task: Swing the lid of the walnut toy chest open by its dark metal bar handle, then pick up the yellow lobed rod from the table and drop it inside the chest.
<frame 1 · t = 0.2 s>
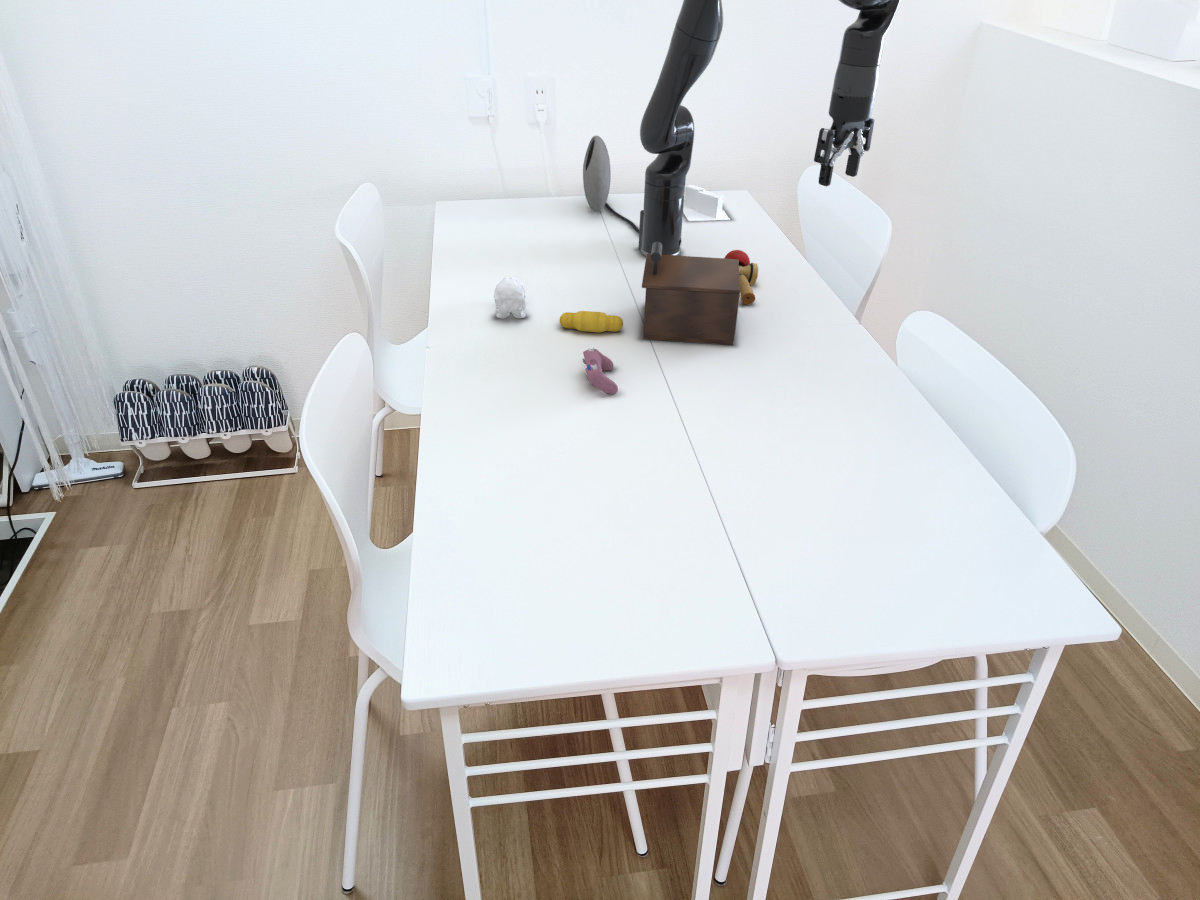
hand: (837, 180, 163), 29 cm above the table, tool pointing down, fingers open, 8 cm apart
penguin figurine: (511, 311, 181), on the table
kendama: (740, 288, 192), on the table
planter: (595, 210, 229), on the table
yellow lobed rod: (590, 330, 174), on the table
lid: (692, 262, 169), point 14 cm above the table, hinge at 0.0°
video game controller: (599, 383, 158), on the table
napkin holder: (702, 210, 231), on the table
toy chest: (688, 325, 177), on the table
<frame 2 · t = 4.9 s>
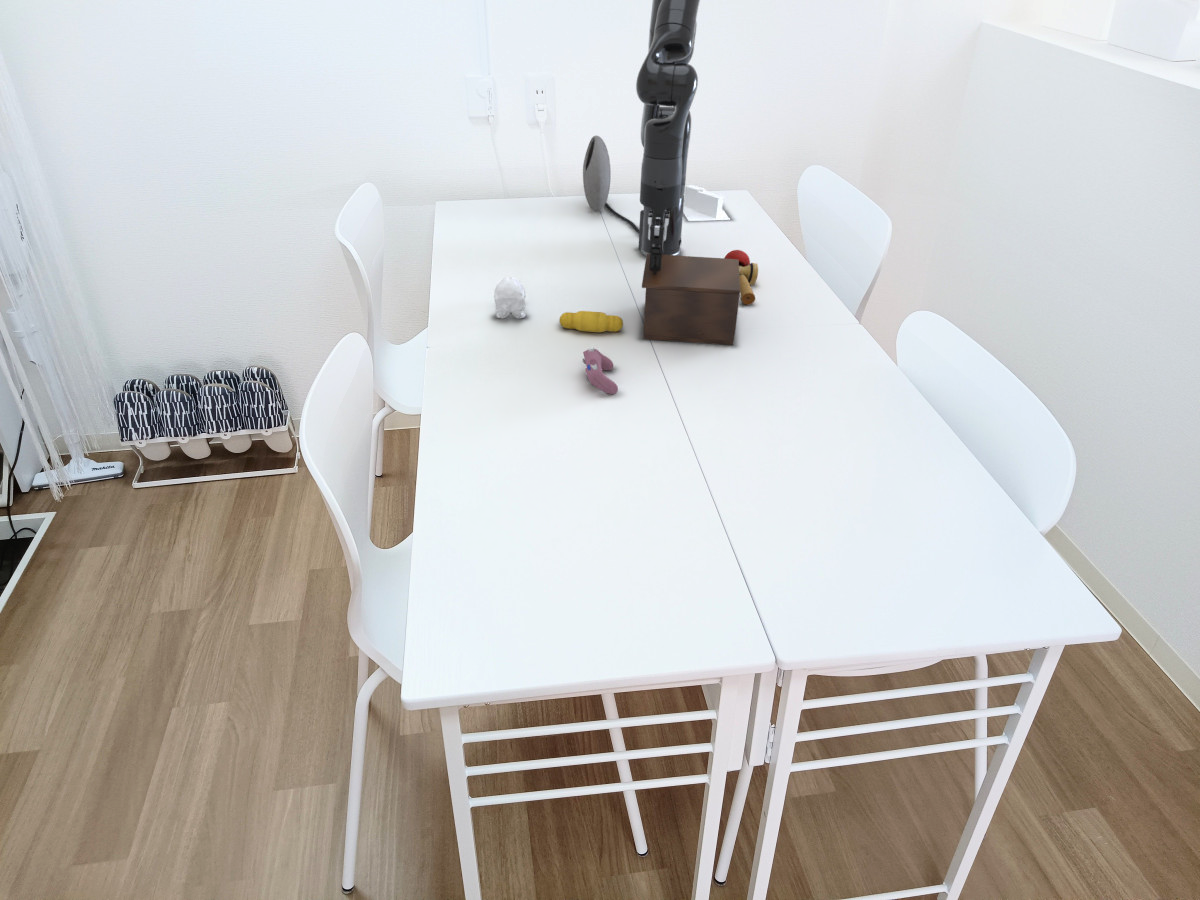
hand: (655, 263, 170), 13 cm above the table, tool pointing down, fingers closed on lid, 5 cm apart
lid: (692, 262, 169), point 14 cm above the table, hinge at 0.0°, touching gripper
everything else where it was.
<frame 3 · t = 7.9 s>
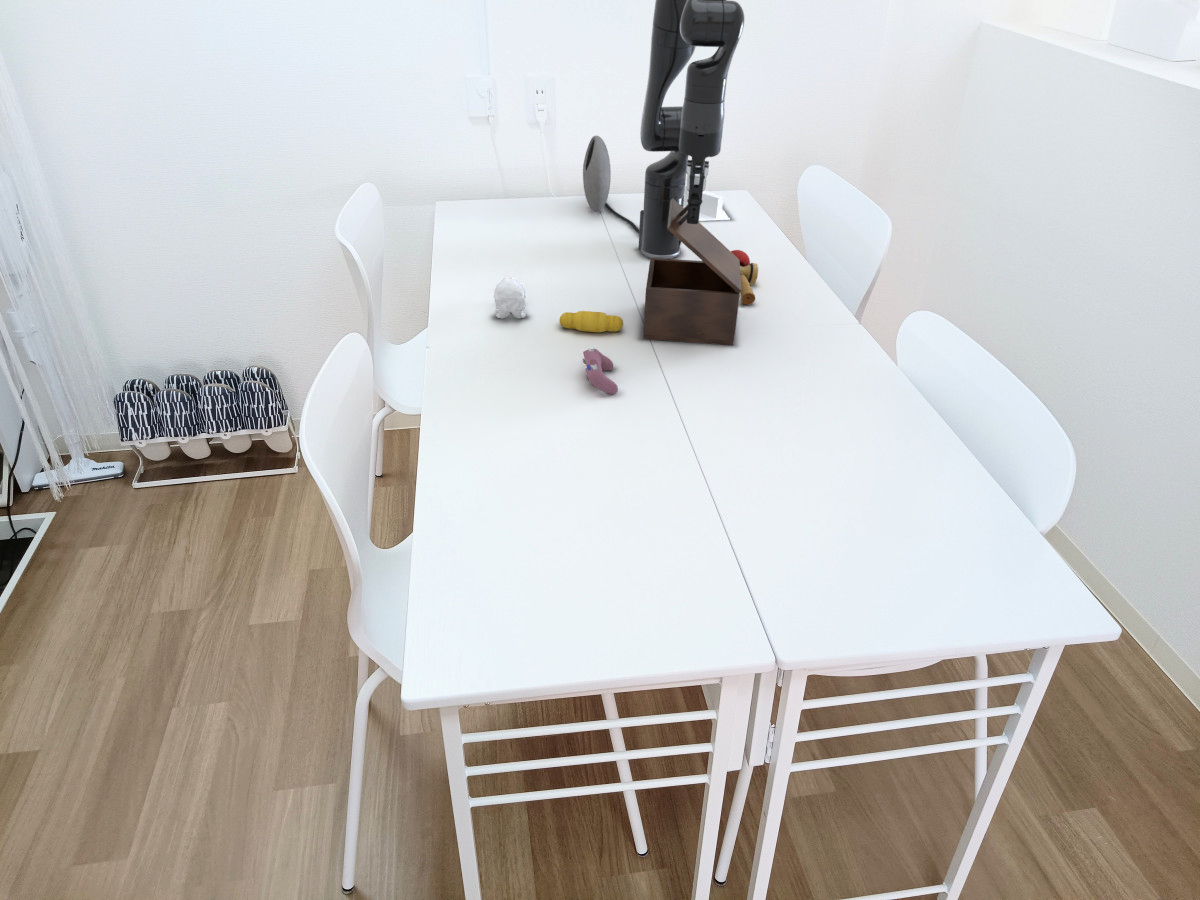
hand: (692, 216, 164), 23 cm above the table, tool pointing down, fingers closed on lid, 5 cm apart
lid: (713, 236, 166), point 19 cm above the table, hinge at 39.8°, touching gripper
everything else where it was.
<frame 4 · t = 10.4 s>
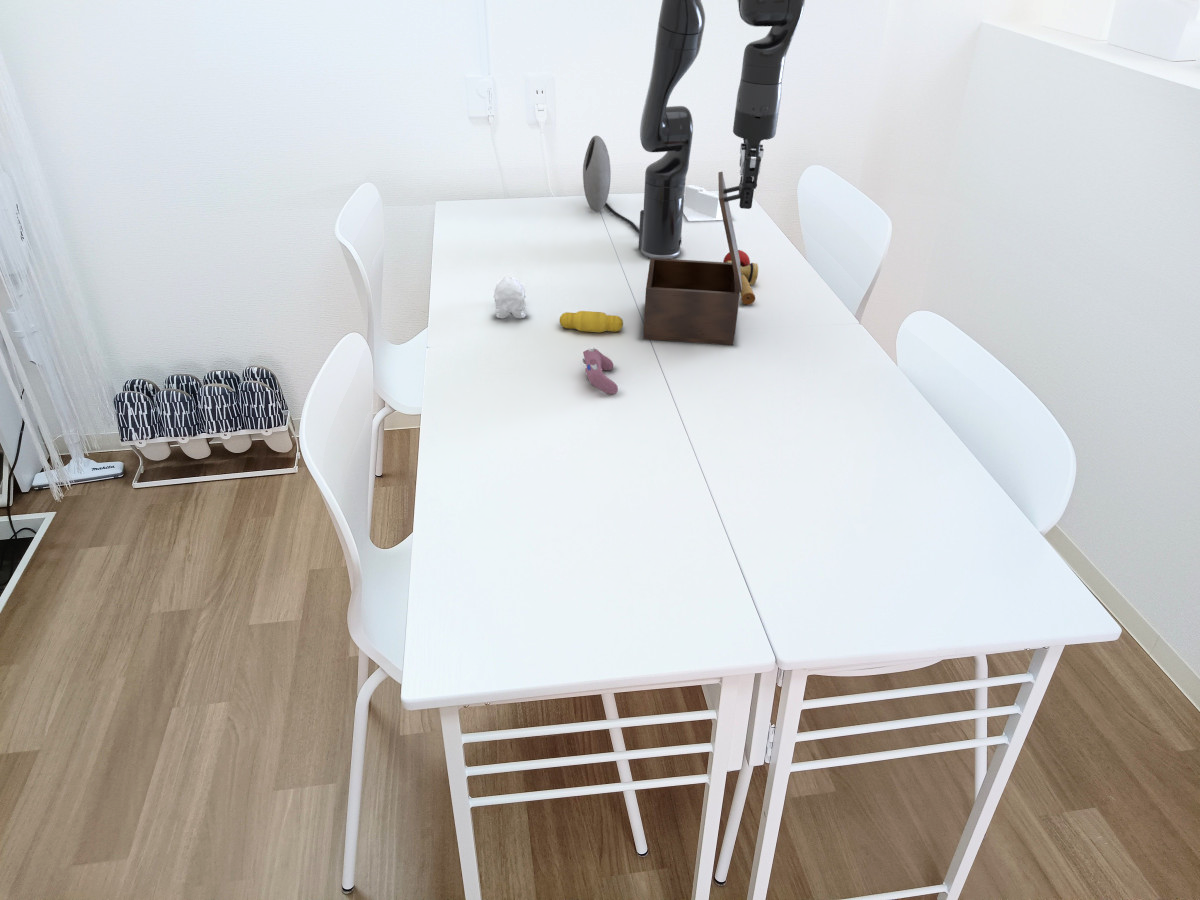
hand: (744, 201, 161), 26 cm above the table, tool pointing down, fingers closed on lid, 5 cm apart
lid: (742, 229, 164), point 21 cm above the table, hinge at 73.1°, touching gripper
everything else where it was.
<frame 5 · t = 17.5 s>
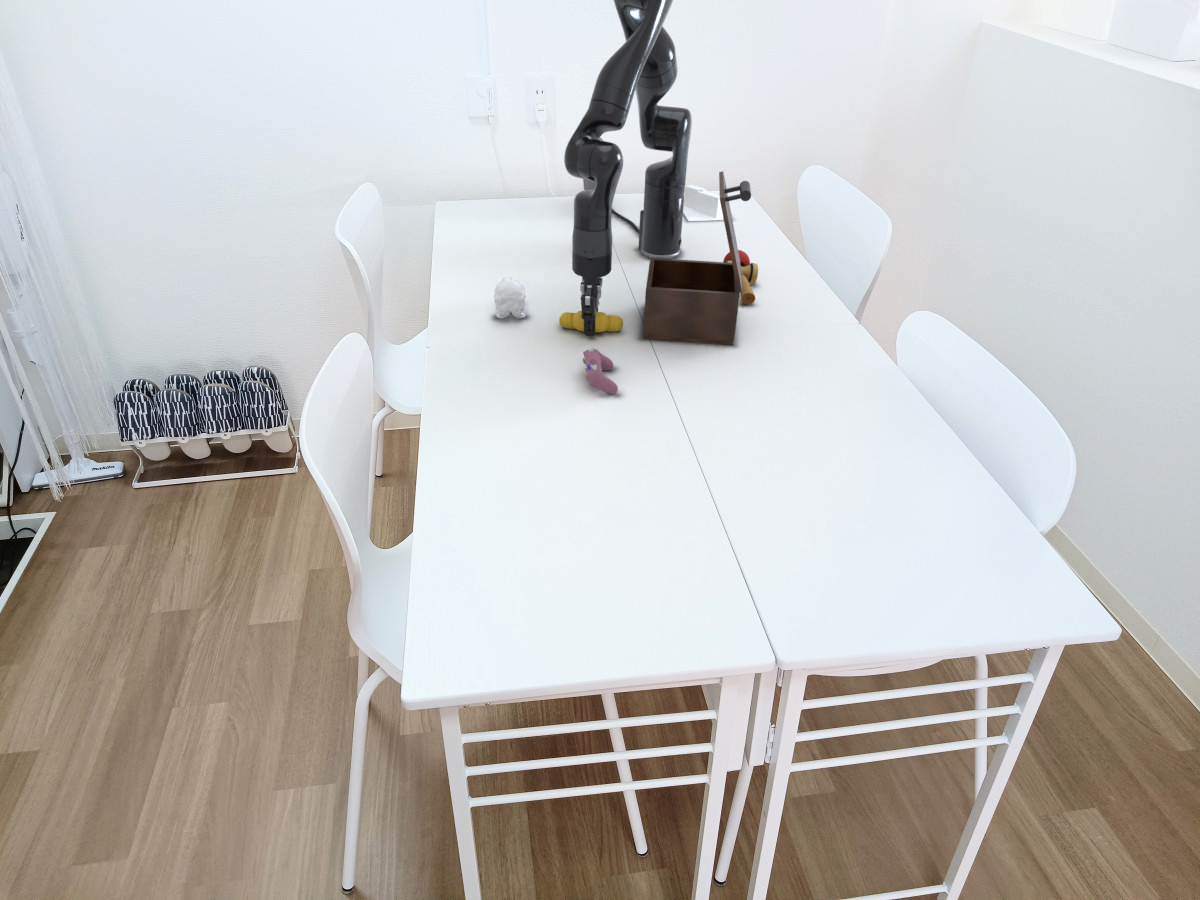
hand: (590, 328, 174), 0 cm above the table, tool pointing down, fingers closed on yellow lobed rod, 4 cm apart
yellow lobed rod: (590, 330, 174), on the table, touching gripper
lid: (742, 229, 164), point 21 cm above the table, hinge at 73.6°
everything else where it was.
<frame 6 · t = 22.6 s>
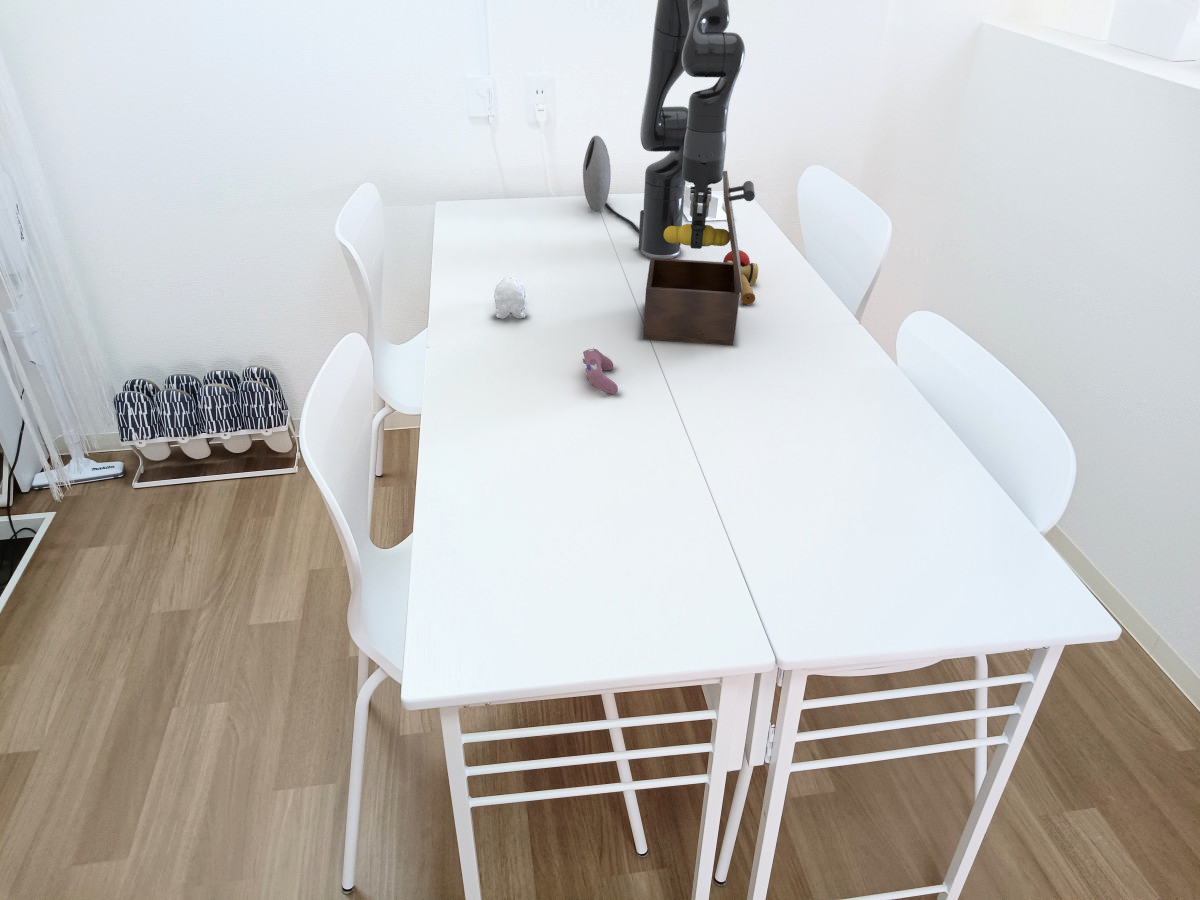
hand: (696, 242, 167), 18 cm above the table, tool pointing down, fingers closed on yellow lobed rod, 4 cm apart
yellow lobed rod: (696, 245, 167), point 17 cm above the table, touching gripper
lid: (744, 229, 164), point 21 cm above the table, hinge at 75.8°
everything else where it was.
when the fingers open (9 cm above the table, at t = 25.1 s): yellow lobed rod drops 8 cm, resting on toy chest.
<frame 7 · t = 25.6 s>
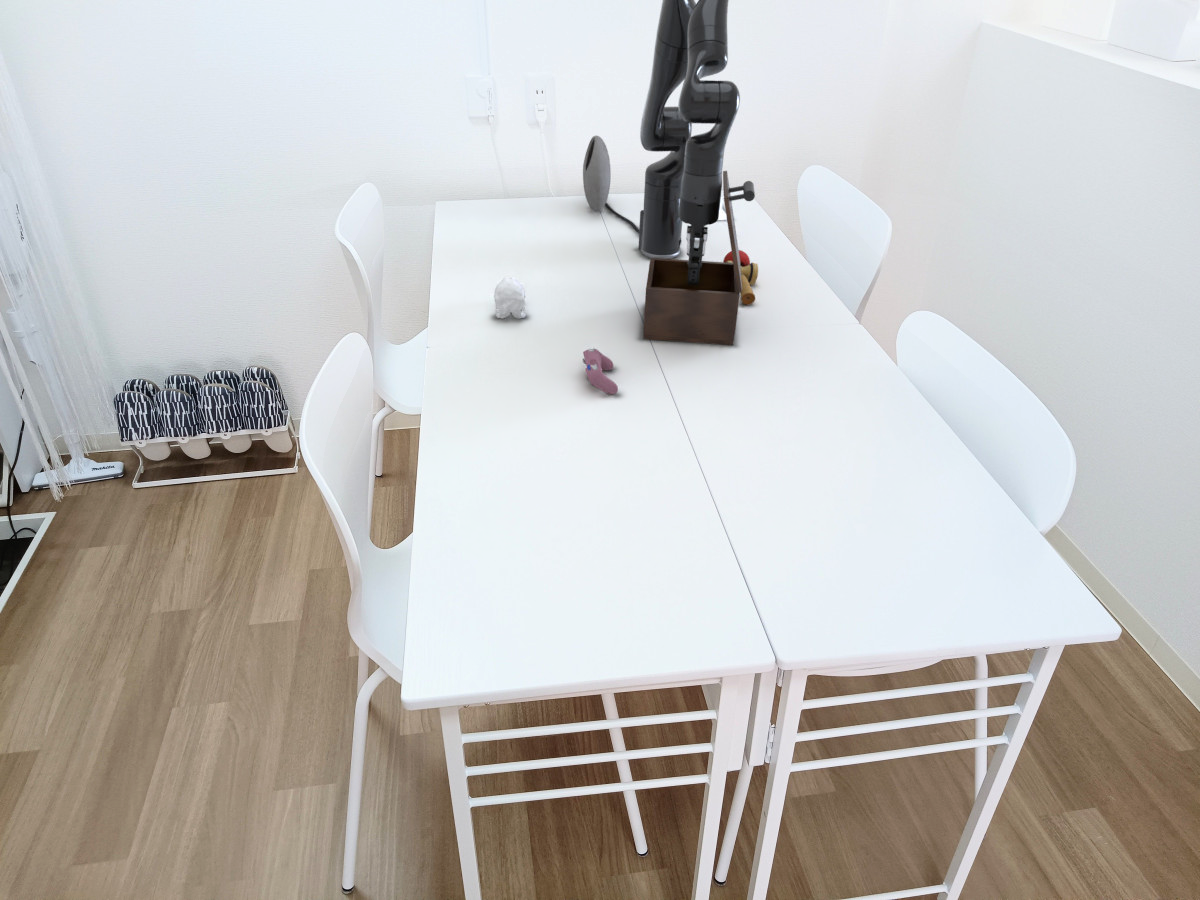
hand: (693, 275, 171), 11 cm above the table, tool pointing down, fingers open, 8 cm apart
yellow lobed rod: (689, 321, 176), point 1 cm above the table, tilted 16°, touching toy chest
everything else where it was.
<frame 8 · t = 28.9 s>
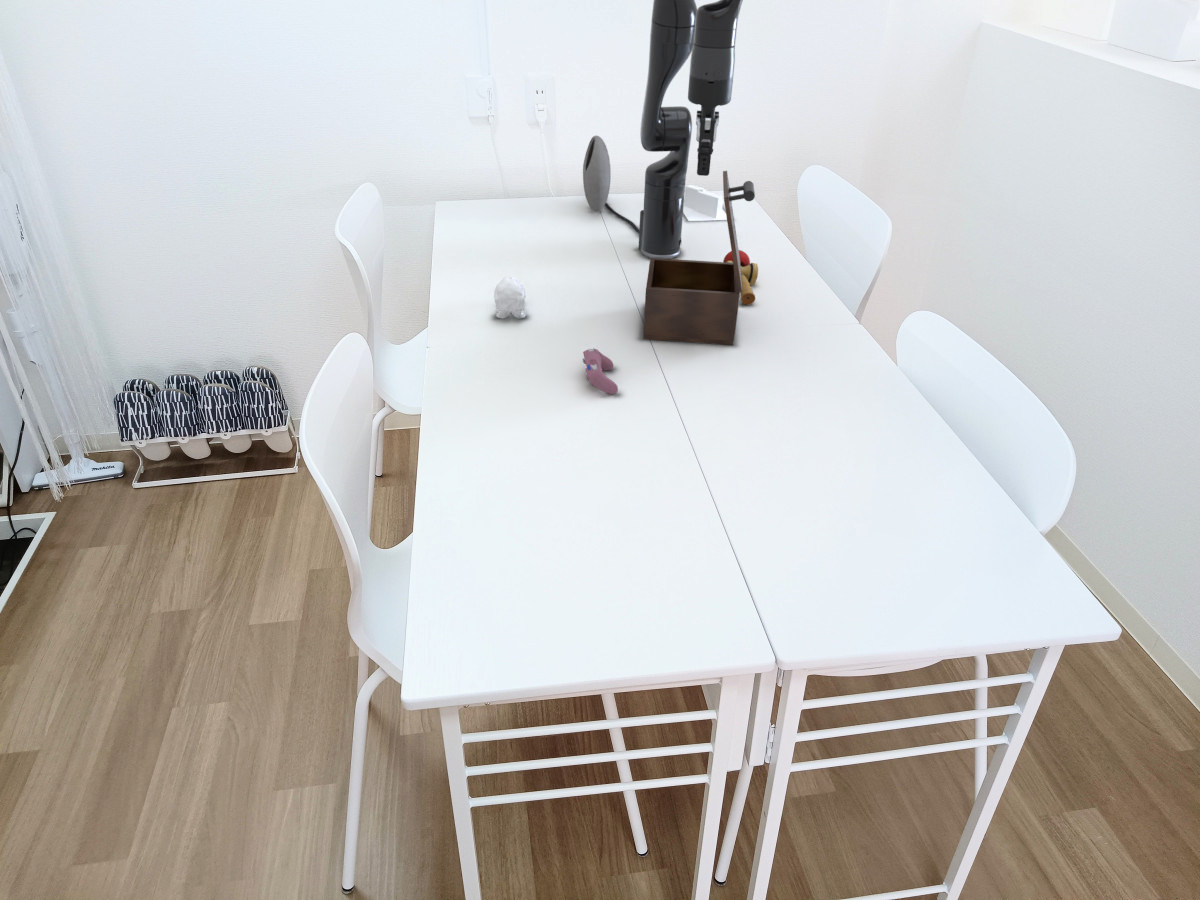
hand: (703, 167, 158), 32 cm above the table, tool pointing down, fingers open, 8 cm apart
yellow lobed rod: (689, 321, 176), point 1 cm above the table, tilted 5°, touching toy chest
everything else where it was.
at the end: lid at +76° (first picture: +0°); yellow lobed rod inside the target area in the toy chest (0.3 cm from its centre), point 1.0 cm above the toy chest's base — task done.
